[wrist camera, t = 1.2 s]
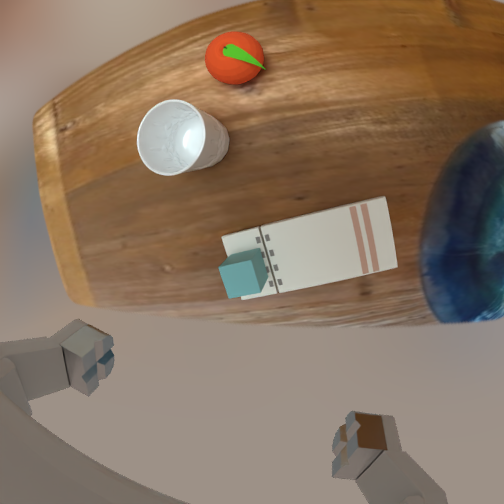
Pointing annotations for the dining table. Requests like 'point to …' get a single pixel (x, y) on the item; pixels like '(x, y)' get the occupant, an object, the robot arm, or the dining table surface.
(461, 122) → the dining table surface
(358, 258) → the ticket
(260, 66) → the clementine
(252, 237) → the stub
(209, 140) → the white cup
